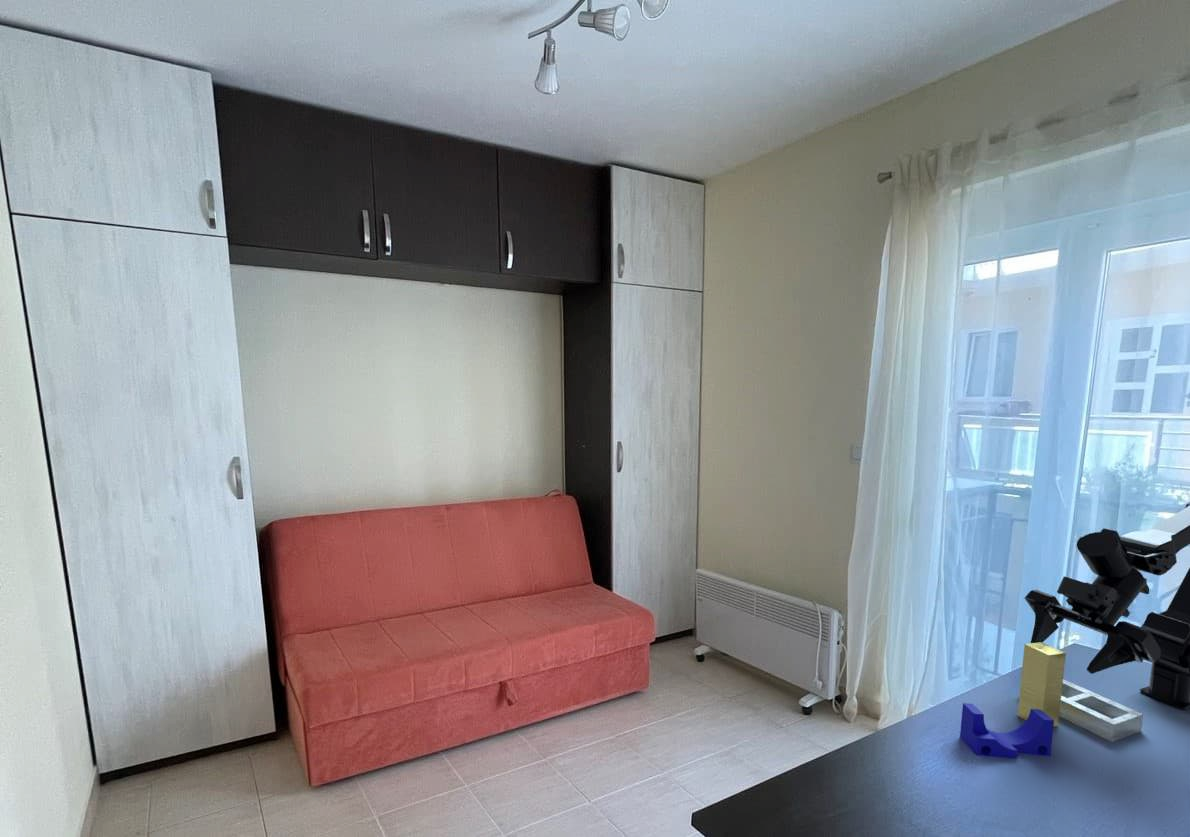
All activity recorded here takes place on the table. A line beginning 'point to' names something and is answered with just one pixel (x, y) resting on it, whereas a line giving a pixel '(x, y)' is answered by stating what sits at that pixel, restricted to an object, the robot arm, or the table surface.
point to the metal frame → (1098, 713)
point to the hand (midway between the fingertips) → (1059, 658)
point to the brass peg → (1041, 680)
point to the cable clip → (1007, 735)
